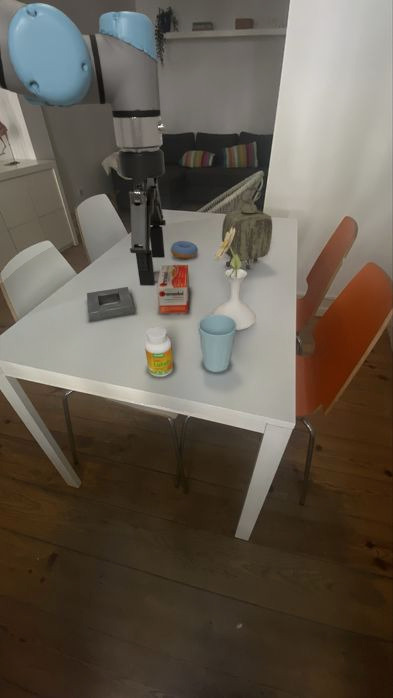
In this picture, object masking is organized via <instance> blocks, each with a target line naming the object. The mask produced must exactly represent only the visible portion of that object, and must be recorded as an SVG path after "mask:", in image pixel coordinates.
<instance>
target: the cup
mask: <svg viewBox="0 0 393 698" xmlns="http://www.w3.org/2000/svg"><path fill="white" fill-rule="evenodd" d="M236 327H237V324H236V322H235V321H234V320H233V319H232V318H230V317H228V316H225V315H212V314H209V315H207V316H204V317H203V318H201V319H200V320H199V321H198V324H197V328H198V334H199V340H200V348H201V354H202V355H201V356H202V361H203V366H204V368H205V369H206V370H207V371H210V372H212V373H213V372H214V373H220V372H224V371H226V370H227V369H228V367H229V365H230V360H231V356H232V352H233V351H232V350H233V347H234V341H235V337H236V332H237V331H236Z"/></svg>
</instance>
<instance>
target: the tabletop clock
mask: <svg viewBox="0 0 393 698" xmlns="http://www.w3.org/2000/svg"><path fill="white" fill-rule="evenodd" d="M249 191H257V192H258V194H259V195H258V196H257V197H256V198H254V199H253V198H252V197H251V196H249V197H248V199H247V200H246V199H244V198H243V195H244V194H245V192H249ZM261 195H262V192H261V190H260V189H259V188H257V187H254V186H252V187H251V186H250V187H246V188H245V189H243V190H242V191H241V193H240V196H239V199H240V200H241V202H242V203H244V205H242V207H241V209H237V210H234V211H230V212H228V213H226V214H225V216H224V218H223V222H222V223H223V224H222V229H221V230H222V231H221V242H224V239H225V236H226V233H227V232H228V233H229V232H230V229H231V227H232V230H233V229H234V228H235V234H234V237H233V240H232V242H231V244H230V246H231V248H232V250H233V253H234V255H236V254H237V255H238V257H239V259H240V261H241V262H246V265H245V269H246V270H250V269H251V264H250V261H253V262H257V261H258V259H262V258H264V257H266V256H268V254H269V253H270V248H271V243H272V237H273V219H272V216H271V215H270V214H267V213H265V212H263V211H261V210H259V209H258V207H257V205H256V204H254V203H255V202H257V201H258V200H259V199H260V198H261ZM228 235H229V234H228ZM225 255H227V256H228V257H229V258H230V259H229V260H228V261H226V262H225V266H226V267H230V266H231V260H232V258H233V255H232V252H231V250H230V248H229V249H228V250H227V252H226V253H225Z"/></svg>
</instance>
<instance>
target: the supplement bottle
mask: <svg viewBox="0 0 393 698" xmlns="http://www.w3.org/2000/svg"><path fill="white" fill-rule="evenodd" d="M144 350H145V357H146V363H147V370H148V372H149V374H150V375H152V376H154V377H158V378H159V377H161V378H162V377H165V376H168V375H169V374H171V373H172V372H173V369H174V361H173V349H172V341H171V339H170V338H169V337H168V331H167V329H165V328H164V327H162V326H154V327H151V328H149V329H148V330H147V331H146V340H145V342H144Z"/></svg>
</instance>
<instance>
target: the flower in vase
mask: <svg viewBox="0 0 393 698" xmlns="http://www.w3.org/2000/svg"><path fill="white" fill-rule="evenodd" d="M228 234H229V235H228ZM234 234H235V228H234V229H233V230H232V227H231V229H230V232H229V233H228V232H227V233H226V236H225V239H224V242H222V241H221V242H220V243H219V249H218V250H217V252H215V255H214V257H215V258H214V261H216V262H219V261H220V260H221V259H223V257H224V256H225V255H226V252H227V250H228V249H229V248H230V250H231V252H232V255H233V258H232V260H231V262H230V265H231V266H232V267H233V268H230V269H227V270H226V271H225V275H226V277H227V279H228V281H229V287H230V289H229V290H230V291H229V293H230V294H229V298H228V300H226V301H225V302H223V303H220V304H219V305H218V306H217V307H216V308H214V309H213V311H212V313H211V315H225V316H228V317H230V318H232V319H233V320H234V321H235V322H236V324H237V327H236V332H237V331H243V330H246V329H248V328H250V327H252V326H253V325H254V323H255V322H256V314H255V312H254V310H253V309H252V308H251V307H250V306H249V305H247V304H245V303H244V302H242V301H241V299H240V291H241V286H242V282H243V280H244V279H245V277H246V276H247V274H248V272H247V271H246V270H245V269H241V267H242V265H243V263H242V261H240V259H239V257H238V255H237V254H236V255H234V253H233V250H232V248H231V246H230V244H231V242H232V240H233V237H234Z"/></svg>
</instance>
